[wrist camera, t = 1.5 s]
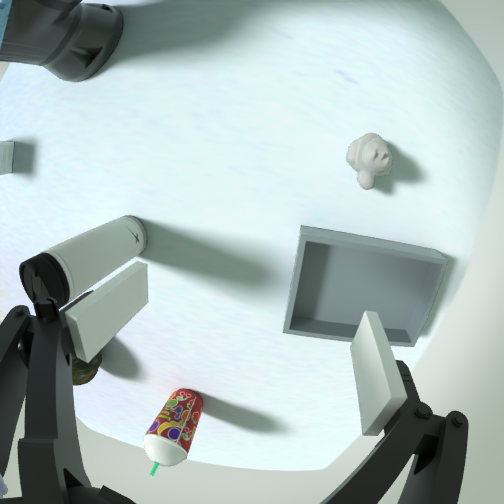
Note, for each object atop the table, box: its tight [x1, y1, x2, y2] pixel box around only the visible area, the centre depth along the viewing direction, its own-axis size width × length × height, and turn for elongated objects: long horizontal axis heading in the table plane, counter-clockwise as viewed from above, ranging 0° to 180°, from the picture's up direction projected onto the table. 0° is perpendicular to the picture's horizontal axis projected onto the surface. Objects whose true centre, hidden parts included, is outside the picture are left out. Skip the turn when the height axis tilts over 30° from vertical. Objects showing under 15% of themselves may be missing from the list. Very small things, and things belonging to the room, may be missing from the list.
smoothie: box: [143, 389, 203, 476], centre depth 39 cm, size 8×8×20 cm
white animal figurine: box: [346, 133, 393, 190], centre depth 26 cm, size 5×7×8 cm
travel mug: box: [19, 216, 147, 310], centre depth 29 cm, size 6×7×20 cm
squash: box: [70, 349, 102, 385], centre depth 44 cm, size 14×15×15 cm
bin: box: [283, 225, 448, 347], centre depth 33 cm, size 13×19×4 cm
